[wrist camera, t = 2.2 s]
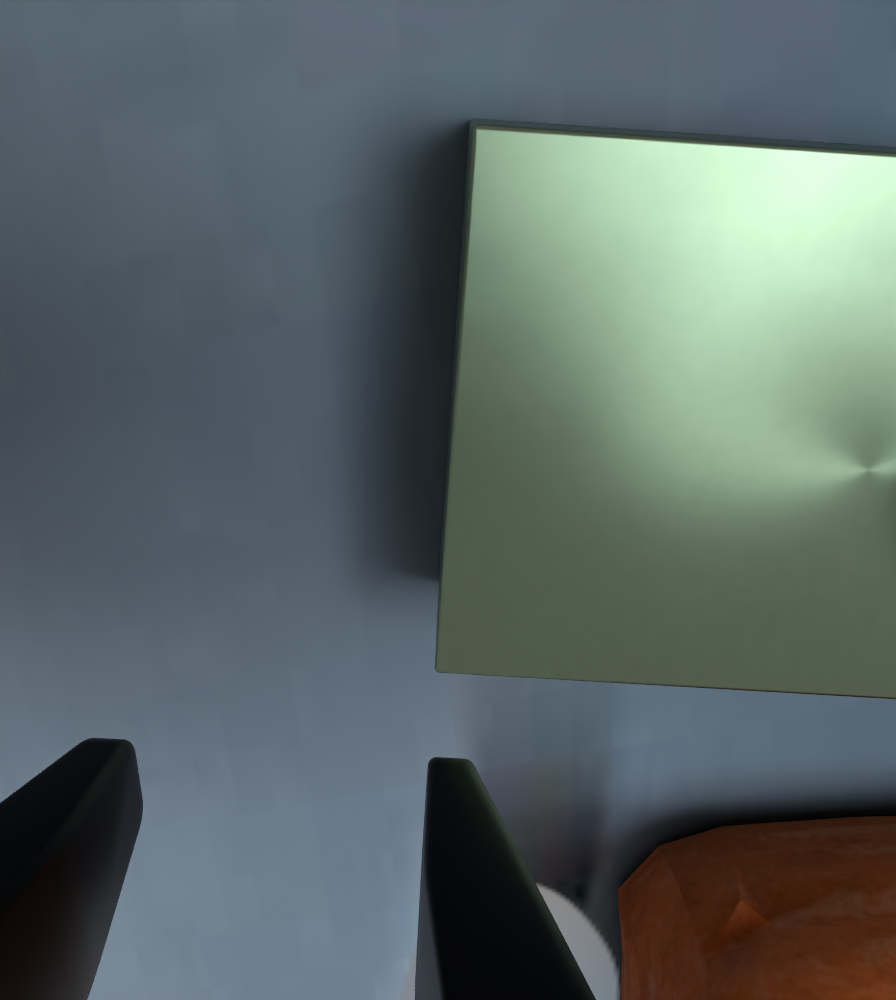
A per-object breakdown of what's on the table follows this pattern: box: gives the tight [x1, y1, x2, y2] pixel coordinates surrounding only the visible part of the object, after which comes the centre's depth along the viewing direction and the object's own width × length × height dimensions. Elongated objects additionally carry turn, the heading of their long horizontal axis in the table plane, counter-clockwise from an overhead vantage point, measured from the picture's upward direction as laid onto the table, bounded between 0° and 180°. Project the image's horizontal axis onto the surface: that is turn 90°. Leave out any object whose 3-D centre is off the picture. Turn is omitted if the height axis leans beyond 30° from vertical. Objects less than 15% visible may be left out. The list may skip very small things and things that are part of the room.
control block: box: [435, 119, 896, 699], centre depth 16 cm, size 16×11×6 cm
